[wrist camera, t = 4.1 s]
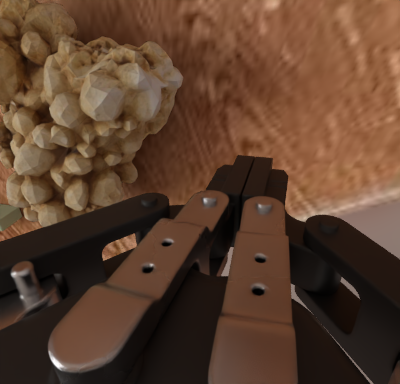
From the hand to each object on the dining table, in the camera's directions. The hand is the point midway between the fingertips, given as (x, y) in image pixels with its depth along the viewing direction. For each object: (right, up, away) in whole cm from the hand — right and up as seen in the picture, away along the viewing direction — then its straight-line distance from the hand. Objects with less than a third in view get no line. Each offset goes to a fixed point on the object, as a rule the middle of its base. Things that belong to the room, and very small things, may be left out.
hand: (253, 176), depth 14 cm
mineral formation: (-10, +5, +10) cm, 15 cm away
